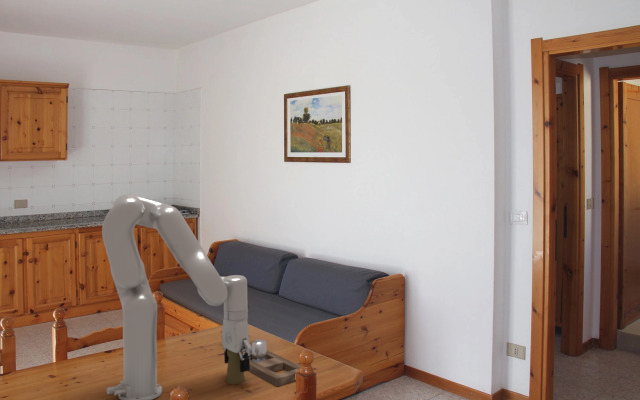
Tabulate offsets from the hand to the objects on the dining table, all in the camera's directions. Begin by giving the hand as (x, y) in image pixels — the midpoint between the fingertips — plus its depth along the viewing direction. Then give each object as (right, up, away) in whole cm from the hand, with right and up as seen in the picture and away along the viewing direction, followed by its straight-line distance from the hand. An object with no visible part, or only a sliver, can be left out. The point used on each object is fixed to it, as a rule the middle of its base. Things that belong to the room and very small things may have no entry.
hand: (236, 366), depth 176 cm
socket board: (+10, -4, +10) cm, 14 cm away
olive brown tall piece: (-1, -5, 0) cm, 5 cm away
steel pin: (+6, -4, +15) cm, 16 cm away
